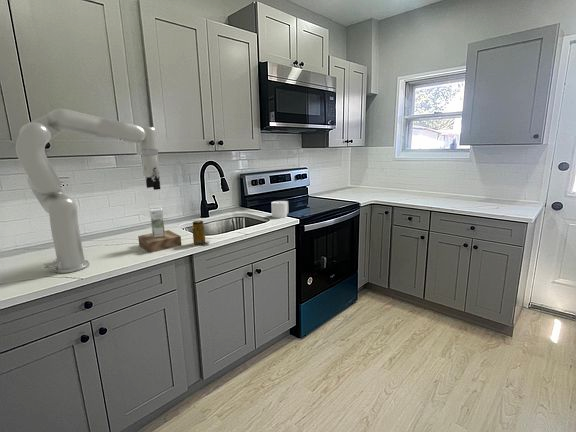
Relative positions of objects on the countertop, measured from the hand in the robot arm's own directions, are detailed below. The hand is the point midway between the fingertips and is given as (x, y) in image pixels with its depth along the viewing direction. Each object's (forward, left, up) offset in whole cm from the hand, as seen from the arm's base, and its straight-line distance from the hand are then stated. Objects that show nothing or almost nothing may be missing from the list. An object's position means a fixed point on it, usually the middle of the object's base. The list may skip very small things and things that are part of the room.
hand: (153, 188), depth 159 cm
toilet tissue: (+86, +7, -30) cm, 91 cm away
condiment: (+17, -12, -30) cm, 37 cm away
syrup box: (0, 0, -25) cm, 25 cm away
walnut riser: (0, 0, -30) cm, 30 cm away
